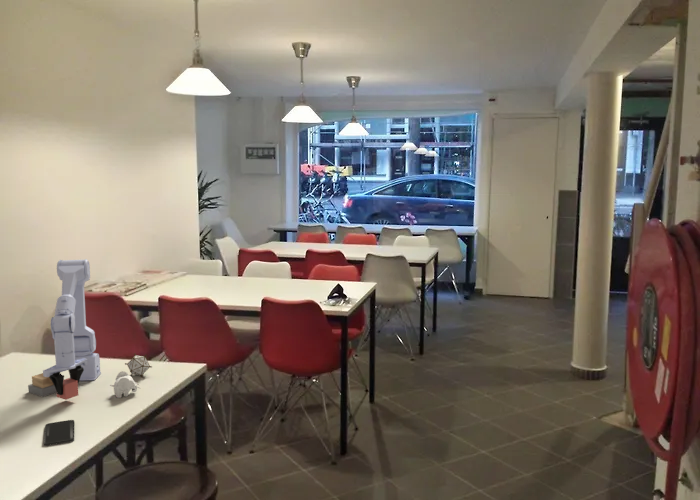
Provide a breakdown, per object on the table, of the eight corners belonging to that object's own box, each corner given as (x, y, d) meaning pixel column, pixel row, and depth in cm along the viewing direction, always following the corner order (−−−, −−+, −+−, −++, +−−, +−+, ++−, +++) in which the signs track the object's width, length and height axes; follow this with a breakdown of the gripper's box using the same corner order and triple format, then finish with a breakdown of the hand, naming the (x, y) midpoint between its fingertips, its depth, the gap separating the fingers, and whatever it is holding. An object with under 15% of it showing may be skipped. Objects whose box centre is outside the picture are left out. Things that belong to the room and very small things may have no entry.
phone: (74, 419, 188) (74, 439, 174) (74, 422, 188) (74, 442, 174) (45, 423, 185) (42, 444, 171) (45, 427, 185) (43, 448, 171)
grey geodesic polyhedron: (144, 384, 231) (160, 362, 231) (130, 383, 223) (147, 361, 223) (130, 369, 234) (146, 348, 234) (115, 368, 226) (132, 346, 226)
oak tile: (48, 379, 217) (48, 371, 217) (59, 382, 214) (58, 374, 214) (32, 384, 212) (31, 376, 212) (43, 388, 209) (42, 379, 209)
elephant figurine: (141, 396, 209) (140, 375, 208) (110, 400, 205) (109, 379, 204) (139, 388, 216) (138, 368, 215) (109, 392, 212) (108, 372, 211)
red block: (69, 392, 207) (68, 378, 206) (78, 395, 204) (77, 380, 204) (56, 397, 203) (55, 382, 202) (65, 399, 200) (64, 384, 200)
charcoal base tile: (50, 386, 219) (49, 378, 219) (64, 390, 215) (64, 382, 215) (28, 393, 213) (28, 385, 212) (42, 398, 208) (42, 389, 208)
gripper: (51, 359, 193) (54, 401, 195) (92, 347, 206) (94, 387, 207) (37, 355, 197) (40, 397, 199) (78, 344, 209) (81, 383, 211)
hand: (67, 391), depth 203 cm, fingers closed on red block, 5 cm apart
